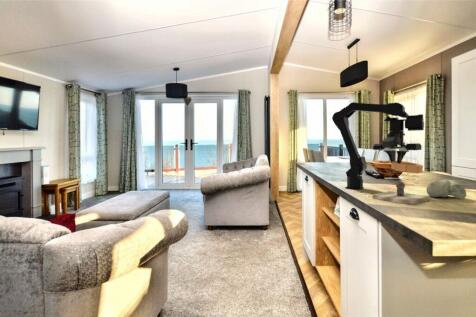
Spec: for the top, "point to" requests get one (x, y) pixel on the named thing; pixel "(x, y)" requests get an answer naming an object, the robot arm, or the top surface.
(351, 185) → the robot arm
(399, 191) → the hook stand
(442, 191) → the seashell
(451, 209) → the top surface
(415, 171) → the orange ring
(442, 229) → the top surface
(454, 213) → the top surface
